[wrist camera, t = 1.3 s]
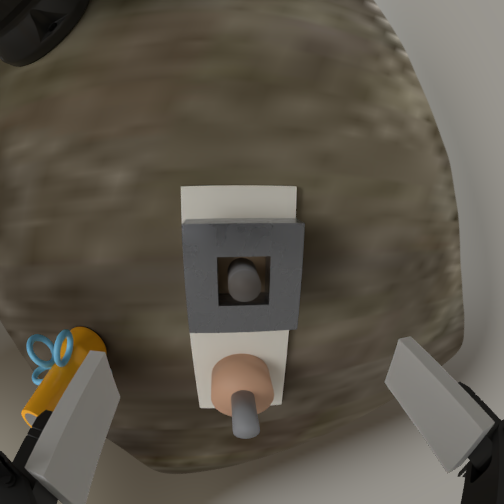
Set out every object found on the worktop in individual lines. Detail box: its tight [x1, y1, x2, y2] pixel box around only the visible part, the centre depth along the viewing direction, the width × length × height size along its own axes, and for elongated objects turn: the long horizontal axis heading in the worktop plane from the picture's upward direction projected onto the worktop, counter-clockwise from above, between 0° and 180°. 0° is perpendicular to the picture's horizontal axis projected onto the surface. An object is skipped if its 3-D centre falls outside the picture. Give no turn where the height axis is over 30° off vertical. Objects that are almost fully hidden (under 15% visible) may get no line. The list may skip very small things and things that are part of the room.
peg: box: [211, 354, 274, 439], centre depth 27 cm, size 7×7×9 cm
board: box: [181, 185, 297, 408], centre depth 30 cm, size 28×11×1 cm, turn 179°
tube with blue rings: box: [21, 327, 112, 428], centre depth 23 cm, size 12×10×15 cm
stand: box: [218, 256, 266, 302], centre depth 24 cm, size 6×6×8 cm
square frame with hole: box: [182, 218, 305, 333], centre depth 22 cm, size 9×9×2 cm
